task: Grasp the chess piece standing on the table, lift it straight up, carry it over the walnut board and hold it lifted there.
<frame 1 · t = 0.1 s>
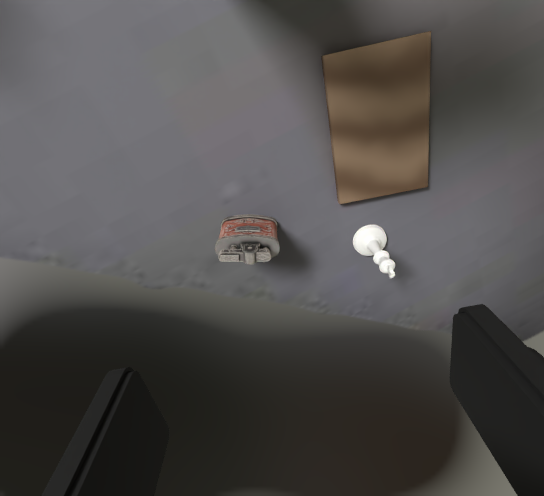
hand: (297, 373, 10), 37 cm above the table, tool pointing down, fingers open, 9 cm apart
walnut board: (377, 125, 41), on the table
chess piece: (368, 239, 49), on the table
lighter: (249, 224, 47), on the table
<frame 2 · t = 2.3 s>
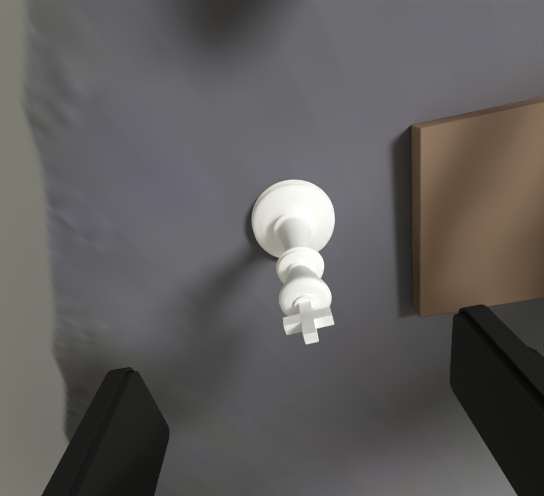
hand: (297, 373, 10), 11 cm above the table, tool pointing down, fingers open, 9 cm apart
chess piece: (292, 218, 20), on the table
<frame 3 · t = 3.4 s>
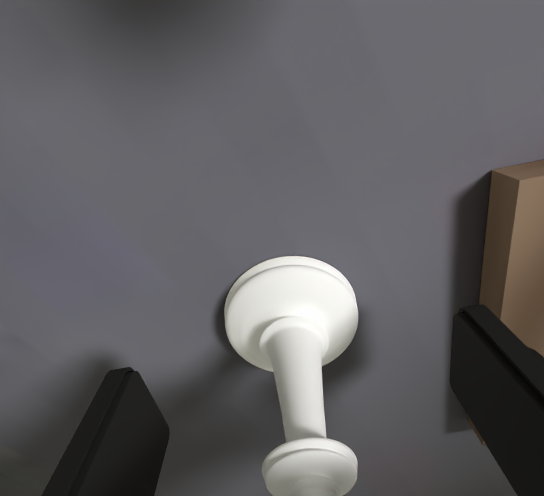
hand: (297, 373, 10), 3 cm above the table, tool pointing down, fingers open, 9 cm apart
chess piece: (290, 309, 12), on the table
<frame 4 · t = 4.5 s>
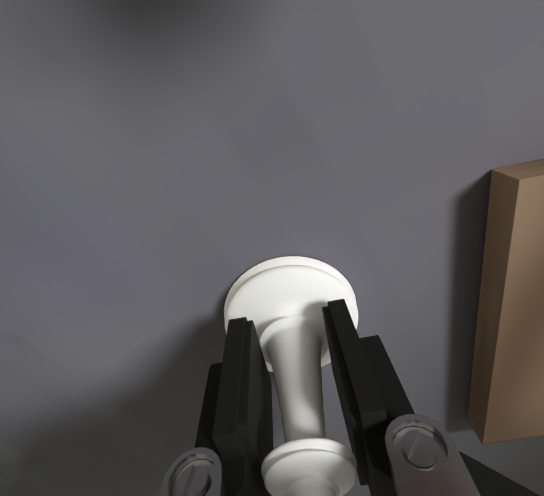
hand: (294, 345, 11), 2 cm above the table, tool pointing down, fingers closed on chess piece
chess piece: (289, 310, 12), on the table, touching gripper
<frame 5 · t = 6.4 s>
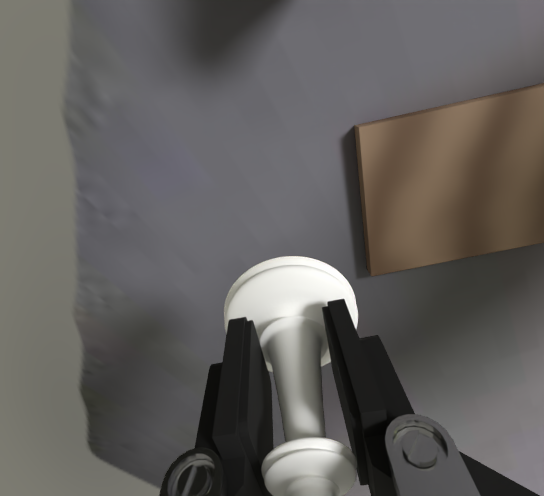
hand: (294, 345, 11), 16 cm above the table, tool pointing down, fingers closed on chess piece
walnut board: (477, 180, 25), on the table
chess piece: (289, 309, 12), point 14 cm above the table, touching gripper
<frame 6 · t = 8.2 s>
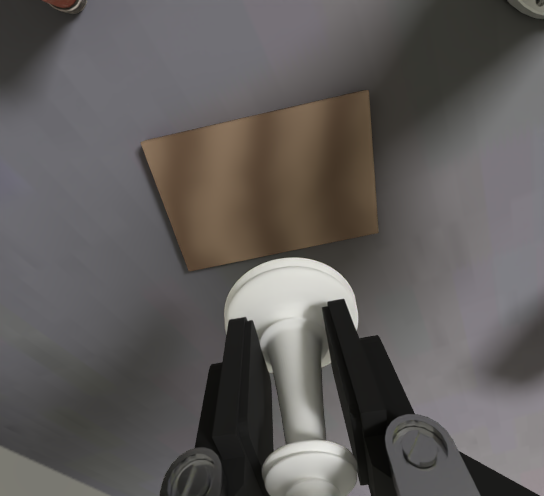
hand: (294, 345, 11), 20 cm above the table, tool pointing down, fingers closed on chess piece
walnut board: (268, 187, 29), on the table
chess piece: (289, 311, 12), point 18 cm above the table, touching gripper
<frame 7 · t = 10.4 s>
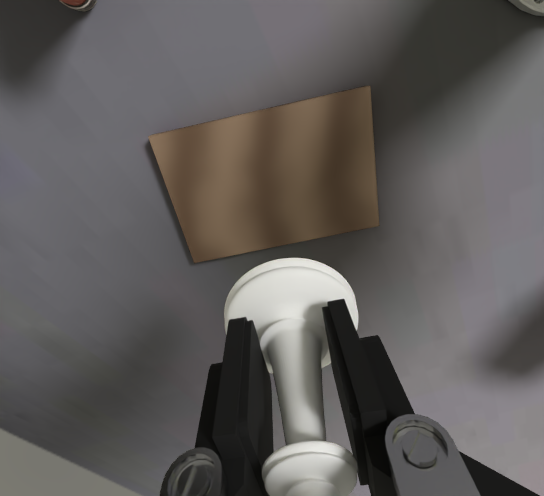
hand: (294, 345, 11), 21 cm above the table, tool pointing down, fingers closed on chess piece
walnut board: (271, 180, 30), on the table
chess piece: (289, 311, 12), point 19 cm above the table, touching gripper
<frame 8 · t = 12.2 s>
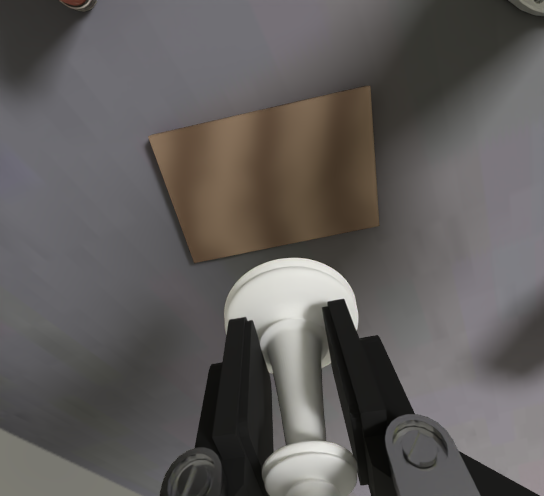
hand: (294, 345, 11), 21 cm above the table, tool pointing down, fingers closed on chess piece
walnut board: (271, 180, 30), on the table
chess piece: (289, 311, 12), point 19 cm above the table, touching gripper
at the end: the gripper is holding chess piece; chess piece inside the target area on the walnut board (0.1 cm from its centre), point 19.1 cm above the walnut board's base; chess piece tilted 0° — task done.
